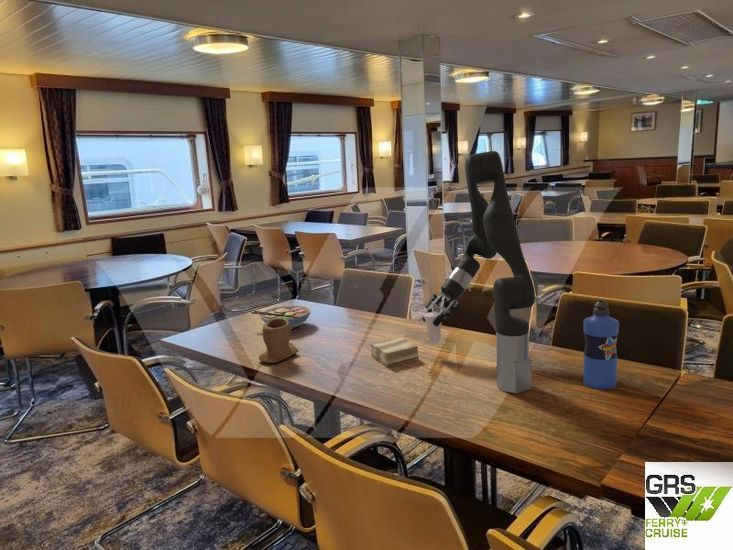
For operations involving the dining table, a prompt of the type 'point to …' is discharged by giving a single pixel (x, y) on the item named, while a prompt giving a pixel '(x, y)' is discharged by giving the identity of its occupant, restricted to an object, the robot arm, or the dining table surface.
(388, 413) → the dining table surface
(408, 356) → the low rectangular block
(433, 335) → the smoothie
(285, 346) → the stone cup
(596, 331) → the water bottle
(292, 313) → the ramen bowl
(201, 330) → the dining table surface
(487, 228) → the robot arm
